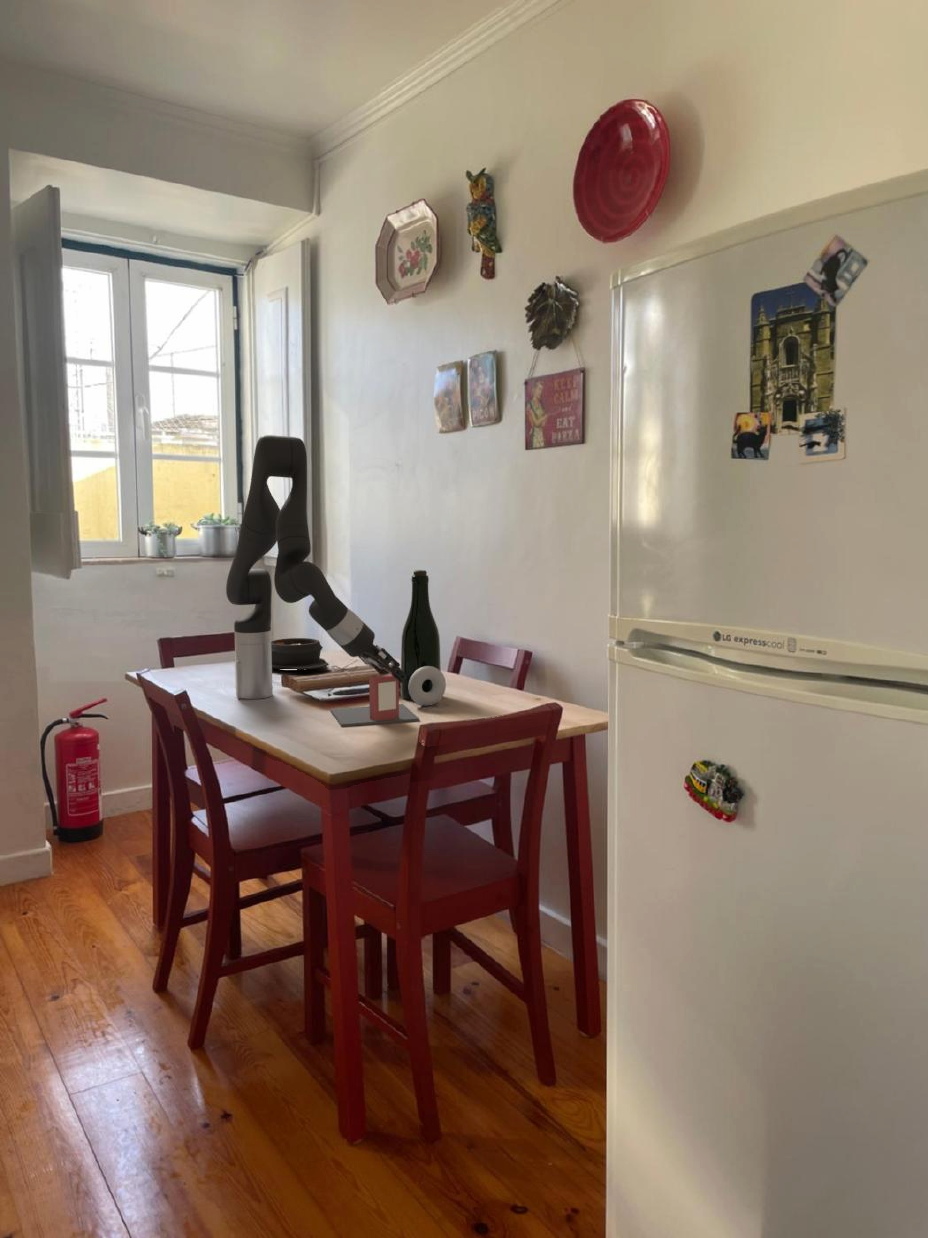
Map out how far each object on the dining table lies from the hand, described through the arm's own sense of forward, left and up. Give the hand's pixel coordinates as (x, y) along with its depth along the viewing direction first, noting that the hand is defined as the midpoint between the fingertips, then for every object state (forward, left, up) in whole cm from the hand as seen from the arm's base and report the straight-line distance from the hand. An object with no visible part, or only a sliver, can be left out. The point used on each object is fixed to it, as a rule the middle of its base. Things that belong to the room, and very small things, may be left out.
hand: (395, 677), depth 207 cm
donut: (+11, +12, -10) cm, 19 cm away
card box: (-3, -1, -9) cm, 10 cm away
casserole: (-14, +75, -10) cm, 77 cm away
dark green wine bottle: (+12, +22, -10) cm, 27 cm away
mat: (-4, +5, -10) cm, 12 cm away
